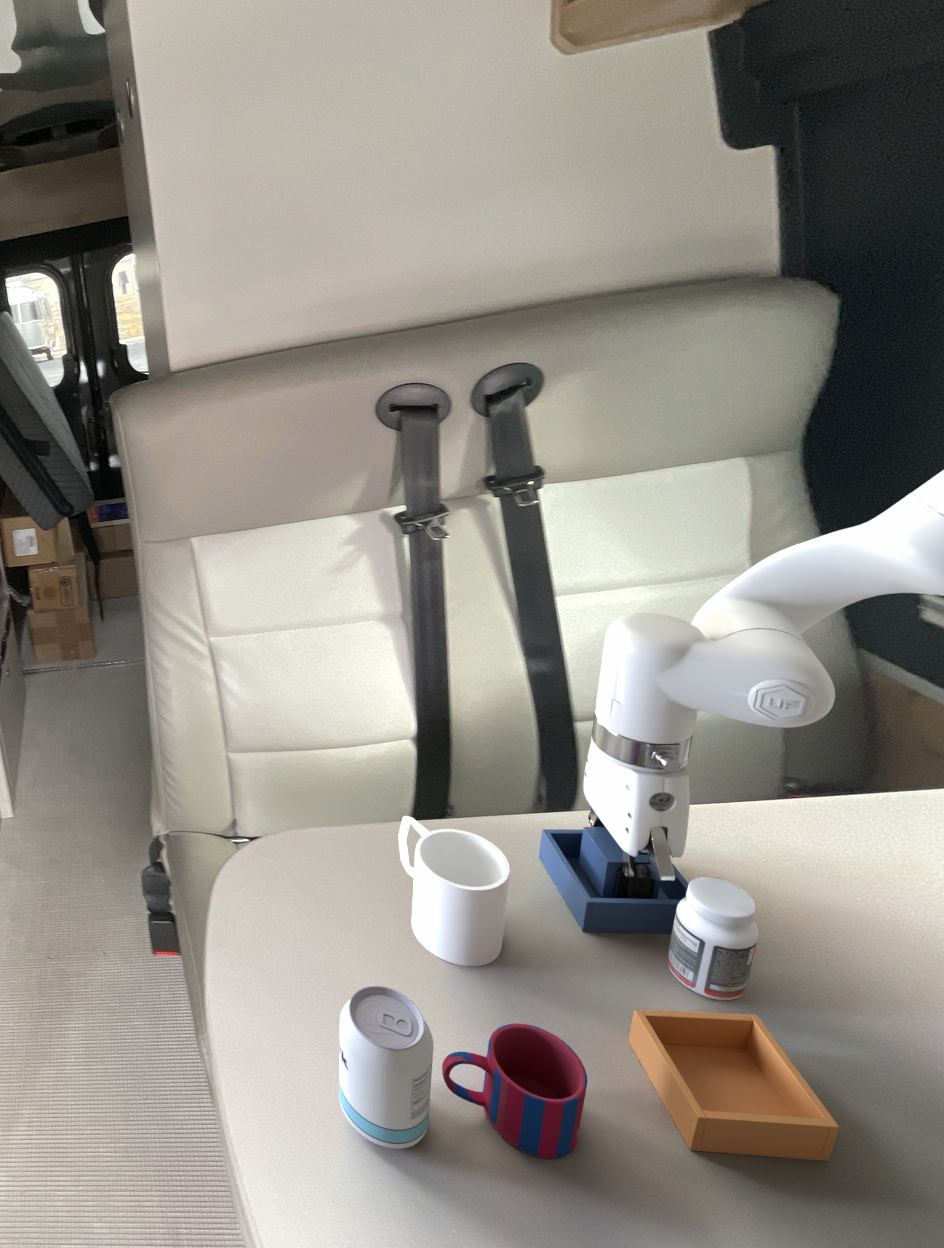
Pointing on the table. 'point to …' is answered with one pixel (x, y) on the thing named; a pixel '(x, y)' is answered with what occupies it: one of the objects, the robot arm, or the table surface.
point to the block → (605, 860)
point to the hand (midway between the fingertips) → (617, 877)
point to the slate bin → (600, 912)
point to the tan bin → (731, 1085)
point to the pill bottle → (714, 939)
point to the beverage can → (385, 1067)
